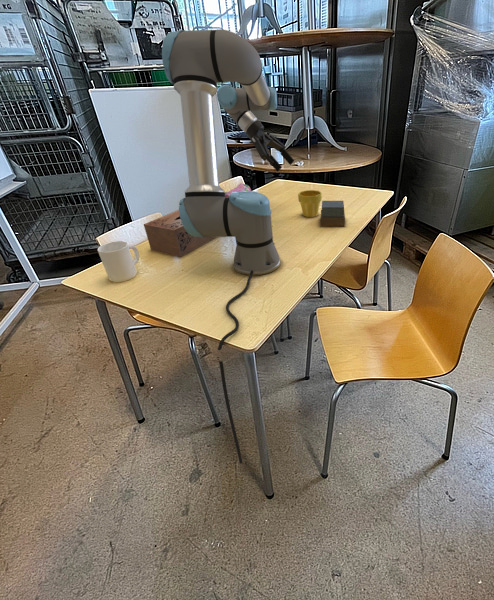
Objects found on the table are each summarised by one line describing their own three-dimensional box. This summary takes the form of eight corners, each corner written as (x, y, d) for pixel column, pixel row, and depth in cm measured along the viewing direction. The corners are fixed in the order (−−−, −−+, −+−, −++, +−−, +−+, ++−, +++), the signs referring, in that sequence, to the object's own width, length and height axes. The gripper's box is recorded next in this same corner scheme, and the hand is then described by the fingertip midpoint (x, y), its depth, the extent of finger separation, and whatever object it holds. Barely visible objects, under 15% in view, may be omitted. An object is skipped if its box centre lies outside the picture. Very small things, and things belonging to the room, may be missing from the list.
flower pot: (295, 213, 154) (294, 191, 148) (315, 209, 157) (315, 188, 152) (304, 220, 146) (304, 197, 141) (325, 216, 149) (325, 194, 144)
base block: (344, 226, 138) (345, 217, 136) (320, 226, 139) (320, 217, 137) (343, 218, 146) (344, 209, 144) (321, 218, 147) (321, 209, 145)
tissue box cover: (180, 257, 117) (174, 230, 112) (151, 250, 123) (143, 224, 117) (226, 231, 137) (222, 207, 131) (198, 226, 142) (193, 203, 137)
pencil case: (234, 214, 154) (231, 194, 150) (216, 212, 157) (213, 193, 152) (254, 201, 171) (252, 182, 166) (238, 199, 174) (235, 181, 169)
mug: (134, 263, 114) (124, 235, 108) (151, 268, 111) (143, 238, 105) (103, 279, 105) (91, 249, 99) (121, 284, 102) (110, 254, 96)
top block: (343, 216, 136) (344, 207, 134) (321, 217, 137) (321, 207, 135) (343, 209, 144) (343, 200, 142) (322, 209, 144) (322, 200, 142)
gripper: (260, 129, 152) (292, 166, 156) (231, 137, 133) (268, 179, 137) (269, 116, 148) (302, 154, 151) (241, 122, 128) (279, 166, 132)
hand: (286, 166), depth 144 cm, fingers open, 13 cm apart
